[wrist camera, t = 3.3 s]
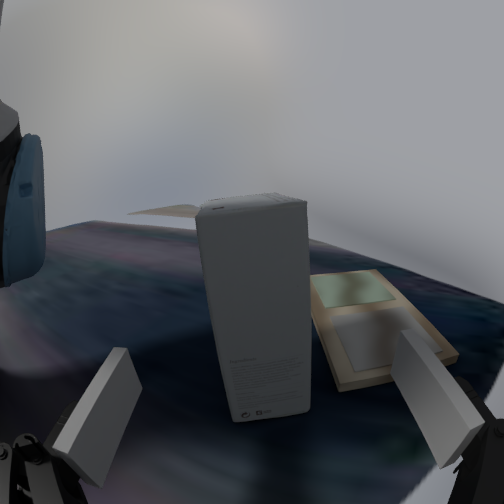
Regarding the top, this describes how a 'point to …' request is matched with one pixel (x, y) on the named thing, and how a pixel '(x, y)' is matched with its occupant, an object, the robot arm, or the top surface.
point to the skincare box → (259, 301)
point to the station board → (366, 326)
